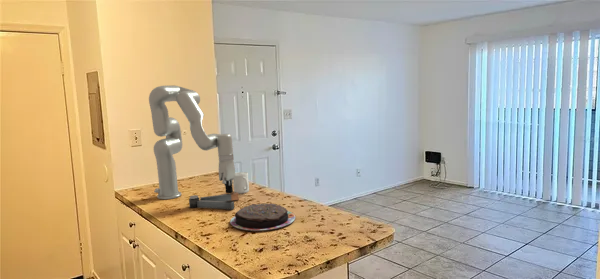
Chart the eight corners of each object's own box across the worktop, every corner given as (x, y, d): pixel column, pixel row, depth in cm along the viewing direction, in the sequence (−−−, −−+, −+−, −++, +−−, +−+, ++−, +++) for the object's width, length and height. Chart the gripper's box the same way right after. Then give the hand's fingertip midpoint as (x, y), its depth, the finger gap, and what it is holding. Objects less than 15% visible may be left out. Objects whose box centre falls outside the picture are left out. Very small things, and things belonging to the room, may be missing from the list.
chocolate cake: (307, 215, 179) (306, 201, 178) (271, 237, 155) (270, 221, 154) (256, 208, 193) (255, 195, 192) (216, 227, 170) (215, 212, 169)
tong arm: (190, 207, 197) (189, 197, 197) (190, 204, 202) (189, 195, 202) (239, 200, 205) (238, 191, 204) (237, 198, 209) (237, 189, 209)
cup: (245, 188, 230) (243, 171, 228) (254, 193, 220) (253, 174, 218) (231, 191, 225) (230, 173, 224) (240, 195, 215) (239, 177, 214)
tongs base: (186, 208, 198) (186, 200, 197) (193, 204, 203) (192, 197, 203) (231, 210, 191) (231, 202, 190) (237, 206, 196) (236, 198, 195)
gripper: (226, 155, 217) (229, 188, 220) (212, 160, 203) (215, 196, 206) (239, 155, 215) (242, 188, 217) (225, 160, 201) (229, 196, 203)
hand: (229, 192), depth 211 cm, fingers closed
